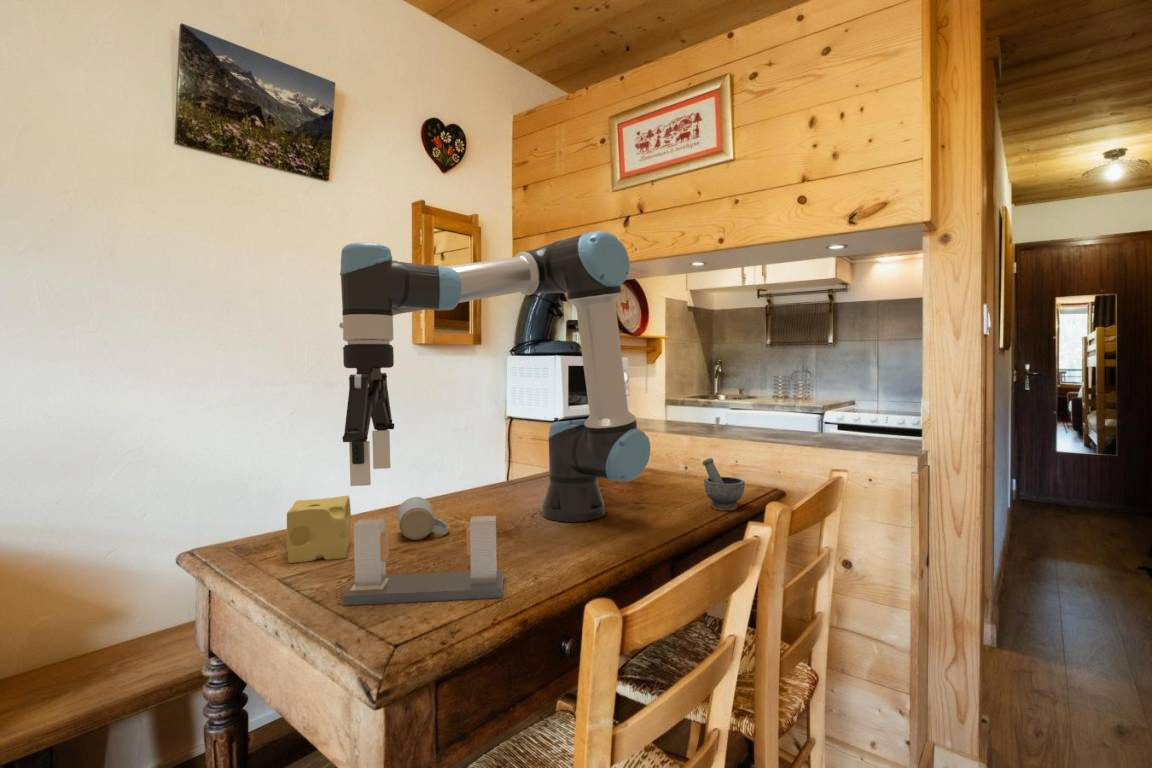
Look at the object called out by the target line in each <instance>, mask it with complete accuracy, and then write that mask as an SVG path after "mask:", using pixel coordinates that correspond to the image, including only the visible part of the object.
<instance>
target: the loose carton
mask: <svg viewBox="0 0 1152 768" xmlns="http://www.w3.org/2000/svg"><path fill="white" fill-rule="evenodd" d="M389 543H390V542H389V531H386V519H385V518H375V519H374V518H373V519H358V521H357V522H355V523H354V524H353V547H354V548H353V549H354V550H353V551H354V552H353V554H354V555H353V556H354V557H353V558H354V559H353V560H354V580H355V588H375V587H382V585H383V584H384V582H385V581H386V575H387V571H386V570H387V567H386V566H387V565H386V564H387V563H386V562H387V560H388V558H389V557H390V553H389V551H390V547H389V545H390V544H389Z"/></svg>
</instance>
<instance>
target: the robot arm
mask: <svg viewBox="0 0 1152 768" xmlns="http://www.w3.org/2000/svg"><path fill="white" fill-rule="evenodd" d="M630 264H631V262H630V257H629V255H628V251H627V249H626V247H625V244H624V243H623V242H622V240H619V238H618V237H617V236H616V235H615V234H614V233H612V232H609V231H605V230H599V231H590V232H585V233H583V234H579V235H575V236H571V237H569V238H568V237H567V238H565V239H561V240H557V241H553V242H552V243H548V244H545V245H542V246H540V247H537V248H533V249H530V250H524V251H519V252H517V253H516V254H515V255H514V256H513V257H507V258H506V257H505V258H501V259H492V260H485V261H478V262H469V263H464V264H456V265H447V266H443V265H442V266H441V265H440V264H437V265H434V264H433V265H432V264H424V263H414V262H406V261H405V262H404V261H398V260H393V256H392V251H391V249H390V248H389V247H388V246H387V245H383V244H380V243H375V242H353V243H349V244H346V245H345V246H343V247H342V249H341V254H340V272H339V276H340V287H341V288H340V289H341V290H340V291H341V307H342V310H341V311H342V313H341V314H342V322H339V324H338V326H339V328H340V329H342V338H343V339H342V340H343V341H344V342H347V344H344V346H343V348H342V354H343V355H342V356H343V358H342V359H343V367H344V368H345V369H356V374H349V376H348V377H349V378H348V380H349V382H348V383H349V384H348V385H349V386H348V389H349V390H348V398H347V408H346V417H345V423H344V433H343V435H342V442H343V443H348V444H349V445H348V446H349V477H350V480H349V482H350V484H349V485H350V487H358V486H359V487H362V486H363V487H364V486H371V484H372V482H371V479H372V478H371V454H370V453H371V451H370V450H371V449H370V448H371V447H370V446H371V445H370V444H371V443H370V440H368V435H369V430H370V424H371V422H372V425H373V429H374V430H372V431H371V434H372V435H371V436H372V437H371V438H372V465H373V466H372V467H373V470H379V469H380V470H381V469H382V470H383V469H391V444H390V443H391V439H390V437H391V436H390V434H391V433H390V430H394V429H395V423H393V418H392V410H391V404H390V396H389V390H388V380H387V379H388V375H387V373H386V372H382V371H381V369H388V368H389V369H391V368H392V367H393V368H394V363H395V361H394V359H395V357H394V346H393V345H392V344H391V343H390V342H392V341H394V316H396V315H400V314H406V313H413V312H419V311H426V310H427V311H428V310H429V311H430V310H431V311H433V310H434V311H436V312H440V311H451V310H454V309H455V308H456V307H457V306H458V304H459V303H465V302H471V301H477V300H482V299H489V298H493V297H500V296H504V295H512V294H516V293H521V294H522V295H525V296H532V295H536V294H537V295H538V294H567V302H568V303H570V304H571V305H573V306H574V308H575V310H576V318H577V325H578V331H579V332H578V333H579V334H578V335H579V340H580V349H581V355H582V357H581V358H582V365H583V372H584V380H585V387H586V388H585V389H586V395H587V403H588V404H587V405H588V411H589V416H588V417H587V418H582V419H572V420H563V421H562V420H561V421H554V422H552V423H551V424H550V426H549V432H548V433H549V435H548V438H547V440H548V465H549V466H548V467H549V482H548V483H549V484H548V486H547V491H546V492H545V493H546V494H545V497H544V499H543V504H542V516H543V517H544V518H546V519H548V520H552V521H556V522H563V521H564V522H566V523H570V522H571V523H581V522H582V521H583V522H590V521H594V520H593V519H595V520H598V519H601V518H602V516H603V515H604V514H606V513H605V512H606V507H605V502H604V499H603V496H602V492H601V490H600V486H599V484H598V478H602V479H607V480H610V481H613V482H626V483H628V482H631V481H634V480H636V479H637V478H638V477H639V476H641V474H642V473H643V472H644V471H645V468H646V467H647V466H648V463H649V461H650V457H651V456H650V455H651V442H650V438H649V436H648V435H647V434H646V433H645V431H643V430H641V429H639V428H638V424H637V418H636V415H634V414H633V413H632V412H630V410H629V408H628V398H627V389H626V381H625V374H624V364H623V355H622V348H621V339H620V330H619V323H618V314H617V305H616V303H617V301H618V299H620V297H621V295H622V287H621V285H622V284H623V283H624V282H625V281H626V280H627V278H628V274H629V273H630V267H631V266H630ZM604 516H605V515H604ZM604 516H603V517H604ZM600 517H601V518H600ZM597 518H598V519H597ZM589 520H590V521H589ZM564 522H563V523H564Z"/></svg>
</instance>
